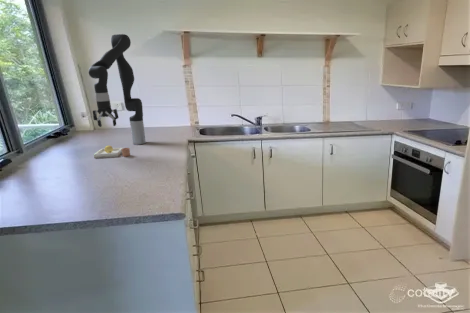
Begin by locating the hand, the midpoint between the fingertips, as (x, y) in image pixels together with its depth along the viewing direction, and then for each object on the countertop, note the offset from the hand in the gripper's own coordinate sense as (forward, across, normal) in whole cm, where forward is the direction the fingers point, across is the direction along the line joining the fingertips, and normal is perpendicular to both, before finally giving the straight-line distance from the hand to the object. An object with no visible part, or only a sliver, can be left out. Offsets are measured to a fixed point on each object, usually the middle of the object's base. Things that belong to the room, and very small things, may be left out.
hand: (107, 126), depth 175 cm
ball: (+15, +1, +2) cm, 15 cm away
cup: (+18, -11, +7) cm, 22 cm away
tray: (+18, +1, +2) cm, 18 cm away
